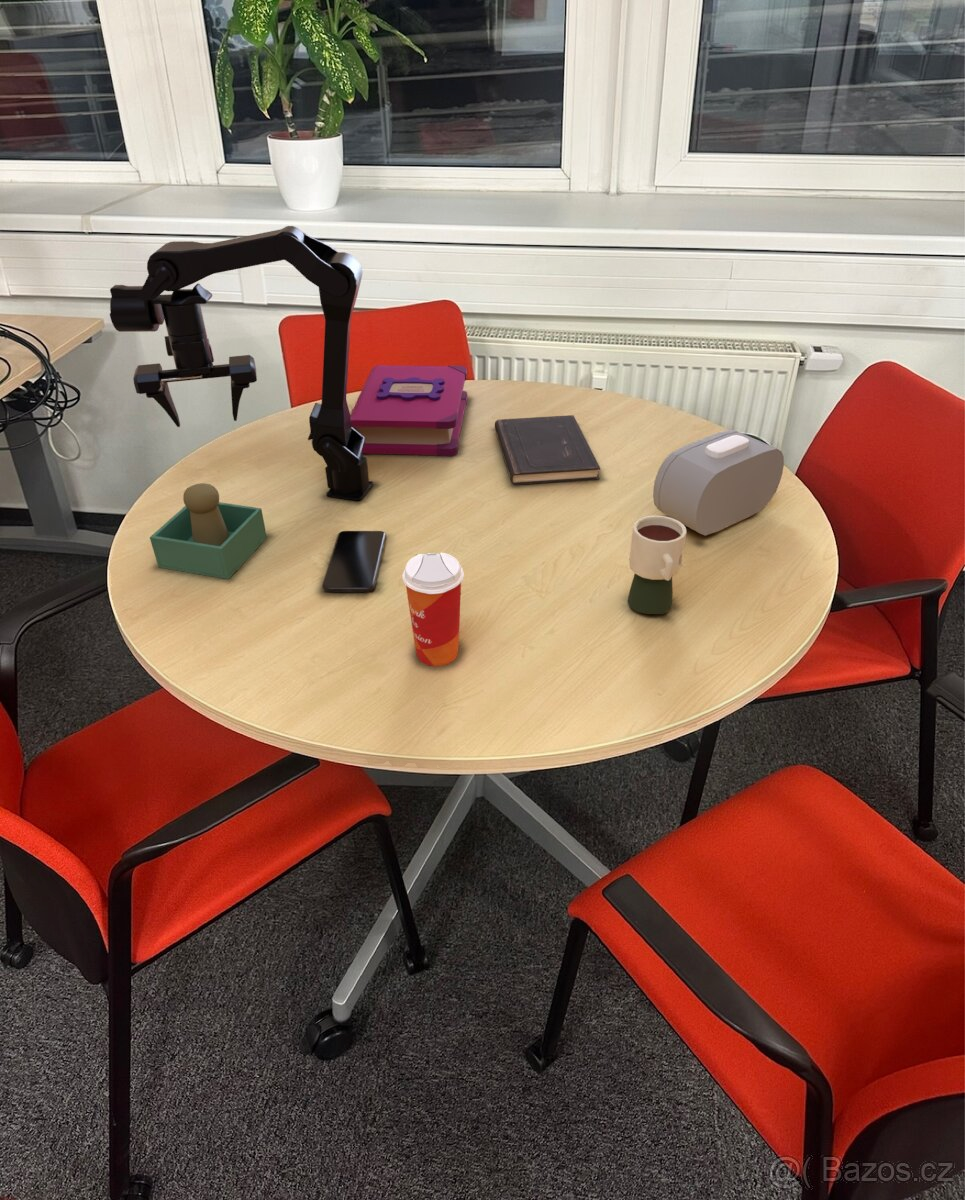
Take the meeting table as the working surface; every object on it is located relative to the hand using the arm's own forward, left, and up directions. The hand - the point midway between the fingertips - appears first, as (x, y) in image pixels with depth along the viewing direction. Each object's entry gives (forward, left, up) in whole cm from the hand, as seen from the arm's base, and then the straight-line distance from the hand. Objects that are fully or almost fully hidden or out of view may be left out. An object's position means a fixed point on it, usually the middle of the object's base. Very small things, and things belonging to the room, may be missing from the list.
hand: (207, 423), depth 139 cm
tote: (-9, +18, -13) cm, 24 cm away
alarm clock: (-84, -14, -13) cm, 86 cm away
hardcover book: (-52, -29, -13) cm, 61 cm away
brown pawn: (-9, +18, -13) cm, 24 cm away
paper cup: (-51, +32, -13) cm, 62 cm away
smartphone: (-32, +15, -13) cm, 38 cm away
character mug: (-77, +14, -13) cm, 79 cm away
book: (-23, -35, -13) cm, 44 cm away
